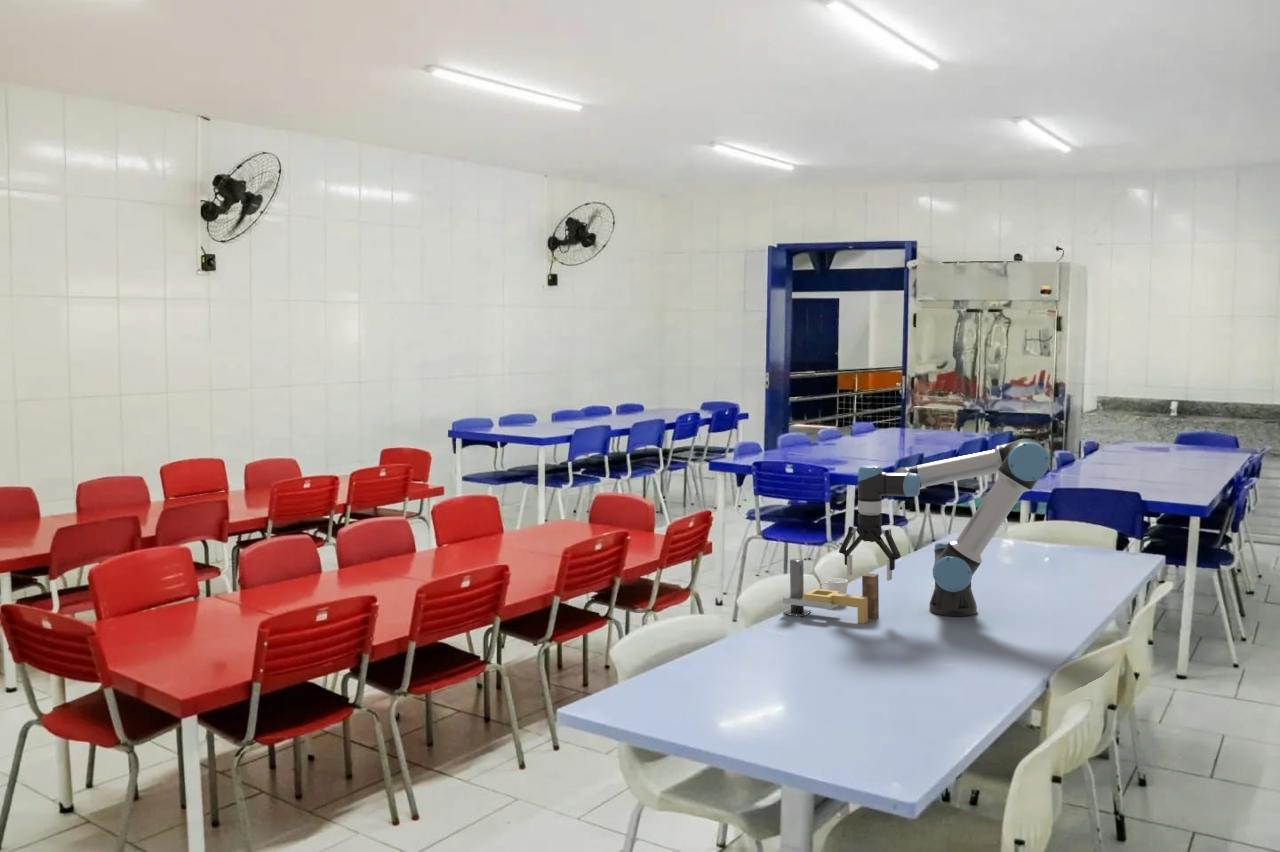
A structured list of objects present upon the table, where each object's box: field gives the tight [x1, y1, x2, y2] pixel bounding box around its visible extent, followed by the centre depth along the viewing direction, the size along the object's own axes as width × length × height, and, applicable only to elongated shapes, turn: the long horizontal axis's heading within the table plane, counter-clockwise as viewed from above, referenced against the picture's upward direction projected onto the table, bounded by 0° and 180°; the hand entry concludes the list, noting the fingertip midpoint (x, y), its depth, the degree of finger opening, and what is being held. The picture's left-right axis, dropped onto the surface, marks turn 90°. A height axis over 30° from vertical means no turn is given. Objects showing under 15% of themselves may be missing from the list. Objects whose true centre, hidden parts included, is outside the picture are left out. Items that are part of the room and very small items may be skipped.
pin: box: [861, 572, 880, 620], centre depth 345 cm, size 4×4×14 cm
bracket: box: [804, 588, 869, 625], centre depth 345 cm, size 20×9×8 cm, turn 57°
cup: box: [819, 577, 849, 594], centre depth 365 cm, size 7×10×8 cm
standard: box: [782, 558, 839, 617], centre depth 349 cm, size 18×9×18 cm, turn 57°
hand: (869, 577), depth 345 cm, fingers open, 13 cm apart
